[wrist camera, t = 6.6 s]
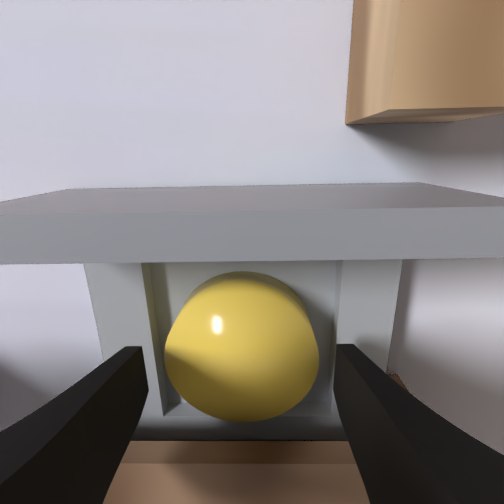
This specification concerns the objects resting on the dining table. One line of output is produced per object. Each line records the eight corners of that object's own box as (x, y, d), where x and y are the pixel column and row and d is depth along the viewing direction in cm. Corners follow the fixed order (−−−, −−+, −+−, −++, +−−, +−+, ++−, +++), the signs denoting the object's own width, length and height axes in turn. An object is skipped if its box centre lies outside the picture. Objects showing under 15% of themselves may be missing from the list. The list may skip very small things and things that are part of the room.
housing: (132, 525, 19) (95, 634, 15) (100, 376, 15) (38, 463, 11) (373, 526, 18) (408, 639, 14) (397, 374, 15) (454, 464, 11)
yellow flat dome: (182, 383, 14) (169, 419, 12) (173, 269, 12) (157, 290, 10) (305, 387, 14) (312, 424, 12) (315, 272, 12) (326, 294, 10)
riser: (344, 124, 11) (389, 109, 8) (354, -5, 10) (412, -100, 6) (452, 121, 11) (551, 105, 7) (474, -9, 10) (608, -108, 6)
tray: (114, 411, 16) (43, 540, 10) (68, 189, 12) (-76, 216, 7) (384, 411, 15) (449, 544, 10) (418, 182, 12) (547, 205, 7)
